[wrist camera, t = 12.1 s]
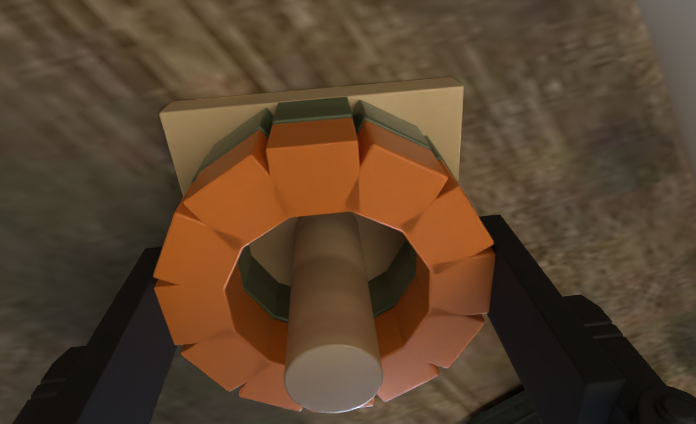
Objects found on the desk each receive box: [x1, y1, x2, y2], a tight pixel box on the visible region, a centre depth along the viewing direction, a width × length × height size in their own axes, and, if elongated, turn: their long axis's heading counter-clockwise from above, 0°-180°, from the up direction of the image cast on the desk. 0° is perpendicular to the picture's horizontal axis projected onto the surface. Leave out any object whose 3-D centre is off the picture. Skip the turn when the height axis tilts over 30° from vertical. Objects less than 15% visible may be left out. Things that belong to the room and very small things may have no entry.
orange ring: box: [153, 118, 495, 412], centre depth 14 cm, size 10×10×2 cm
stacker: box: [159, 77, 464, 413], centre depth 14 cm, size 10×10×8 cm
